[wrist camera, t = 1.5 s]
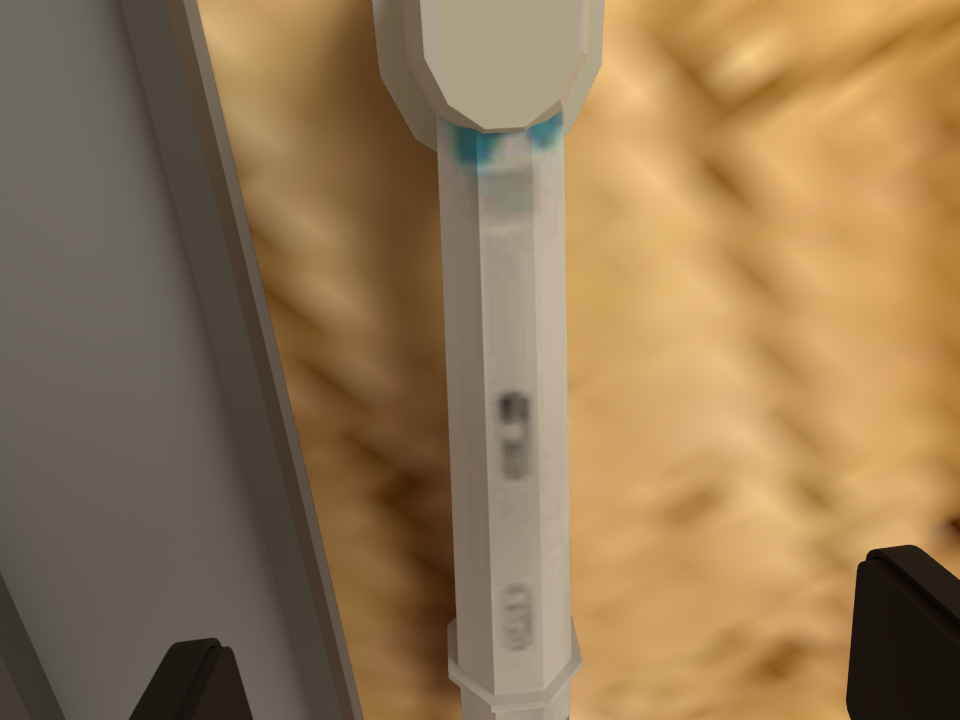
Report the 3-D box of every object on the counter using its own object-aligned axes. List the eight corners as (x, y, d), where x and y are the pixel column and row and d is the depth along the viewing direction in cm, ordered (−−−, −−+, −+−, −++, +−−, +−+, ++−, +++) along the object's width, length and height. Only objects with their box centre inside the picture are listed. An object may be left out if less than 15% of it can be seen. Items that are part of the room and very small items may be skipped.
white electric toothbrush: (442, 781, 20) (327, -212, 9) (440, 615, 26) (369, -111, 15) (600, 766, 21) (678, -222, 9) (562, 605, 27) (583, -119, 15)
